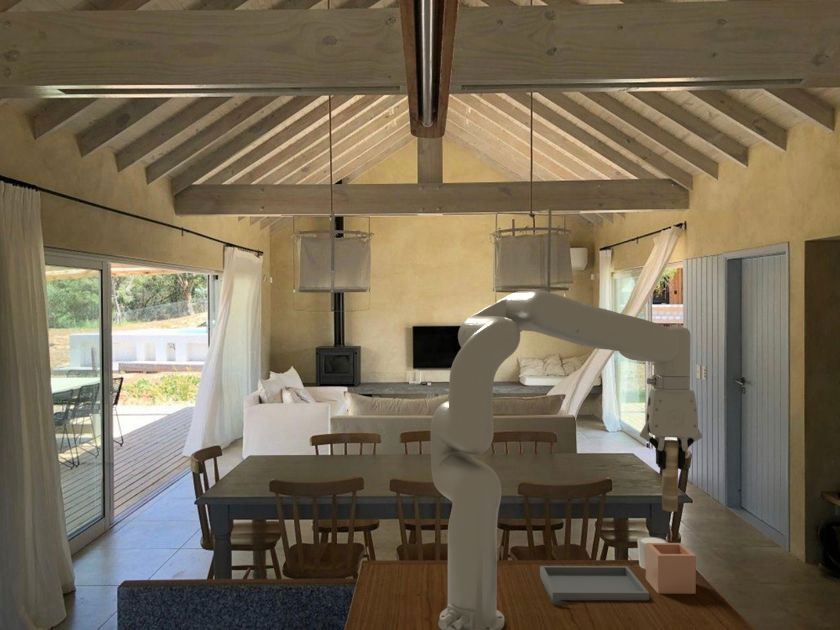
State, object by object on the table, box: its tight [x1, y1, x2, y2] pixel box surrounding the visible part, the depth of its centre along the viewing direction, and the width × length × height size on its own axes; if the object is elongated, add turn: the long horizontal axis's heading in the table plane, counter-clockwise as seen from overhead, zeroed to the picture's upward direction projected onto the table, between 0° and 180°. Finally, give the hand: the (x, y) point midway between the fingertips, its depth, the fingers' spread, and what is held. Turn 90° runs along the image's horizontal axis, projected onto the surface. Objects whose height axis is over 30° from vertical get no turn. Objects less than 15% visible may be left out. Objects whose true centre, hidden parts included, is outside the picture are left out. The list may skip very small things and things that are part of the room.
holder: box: [645, 542, 697, 595], centre depth 153 cm, size 8×8×9 cm
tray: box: [539, 565, 650, 606], centre depth 153 cm, size 20×15×2 cm
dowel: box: [661, 438, 679, 513], centre depth 153 cm, size 3×3×15 cm
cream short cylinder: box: [637, 536, 669, 570], centre depth 165 cm, size 7×7×7 cm
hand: (670, 467), depth 153 cm, fingers closed on dowel, 3 cm apart
